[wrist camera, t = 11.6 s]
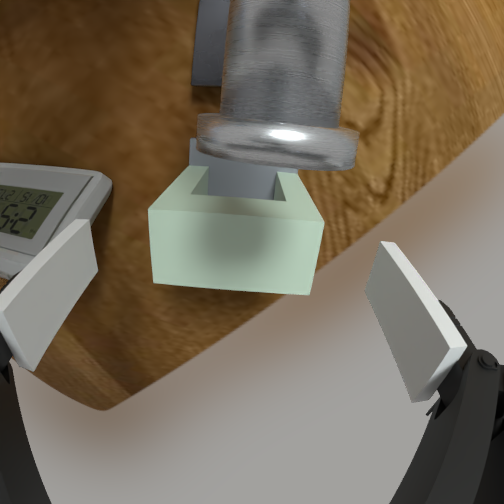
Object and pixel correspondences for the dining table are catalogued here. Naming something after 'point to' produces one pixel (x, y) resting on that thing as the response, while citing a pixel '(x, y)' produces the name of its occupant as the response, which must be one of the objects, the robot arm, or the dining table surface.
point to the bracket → (235, 237)
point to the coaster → (237, 176)
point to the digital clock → (43, 208)
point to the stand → (275, 82)
